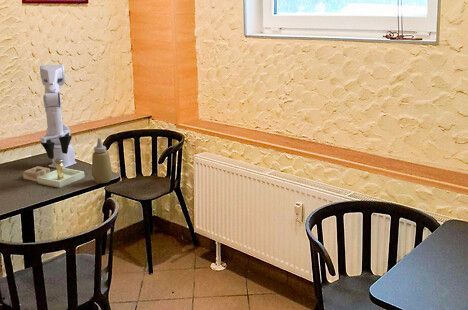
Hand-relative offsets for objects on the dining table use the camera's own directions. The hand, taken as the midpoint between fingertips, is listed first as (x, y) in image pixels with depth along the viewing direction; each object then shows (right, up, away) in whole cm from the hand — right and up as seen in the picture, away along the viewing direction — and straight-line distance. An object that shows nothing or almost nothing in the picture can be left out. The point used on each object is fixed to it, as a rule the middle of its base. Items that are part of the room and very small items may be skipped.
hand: (58, 155), depth 223 cm
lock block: (-11, -9, +7) cm, 16 cm away
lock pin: (0, -9, +3) cm, 10 cm away
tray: (+1, -10, +3) cm, 10 cm away
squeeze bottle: (+18, -11, +1) cm, 21 cm away
